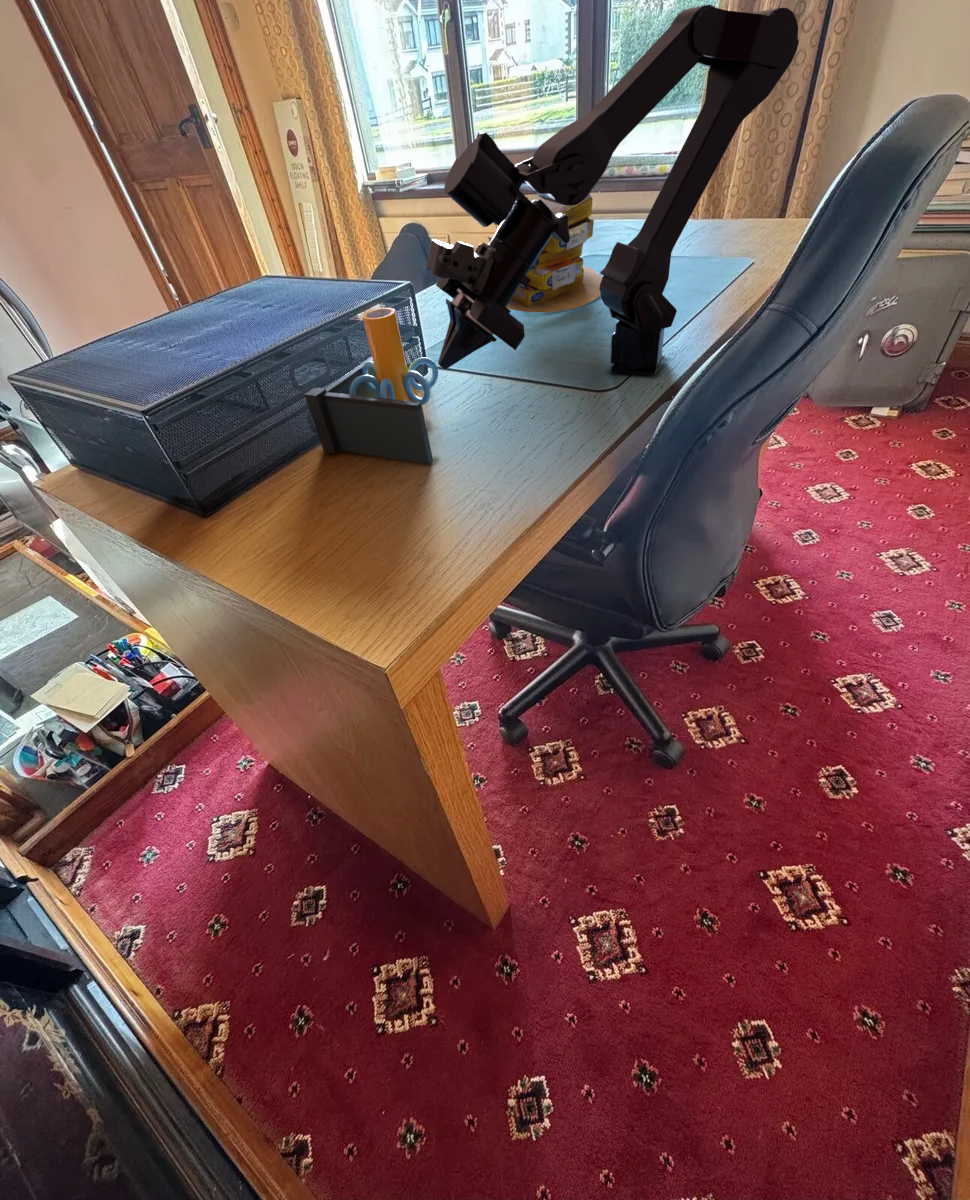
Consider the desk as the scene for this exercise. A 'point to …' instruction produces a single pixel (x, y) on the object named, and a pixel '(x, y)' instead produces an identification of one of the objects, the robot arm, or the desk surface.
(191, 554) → the desk surface
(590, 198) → the stacked yellow boxes
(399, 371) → the cylinder
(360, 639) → the desk surface
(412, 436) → the corner bracket
